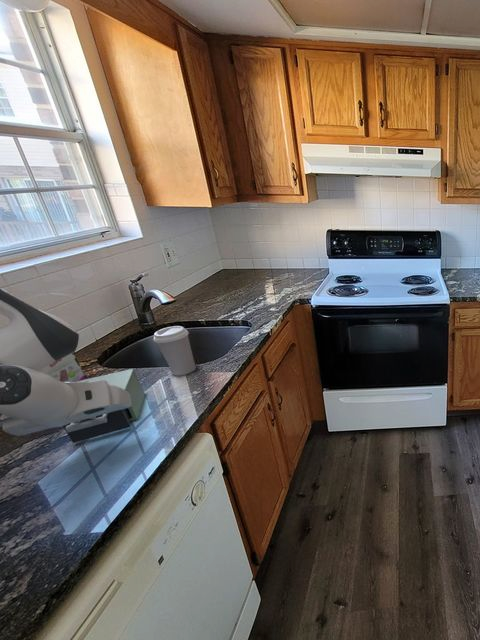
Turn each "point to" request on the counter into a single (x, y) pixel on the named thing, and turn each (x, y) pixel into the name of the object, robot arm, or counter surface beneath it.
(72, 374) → the candy bar box
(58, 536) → the counter surface
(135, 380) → the drawer cabinet
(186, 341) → the coffee cup
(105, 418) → the drawer with bar handle
